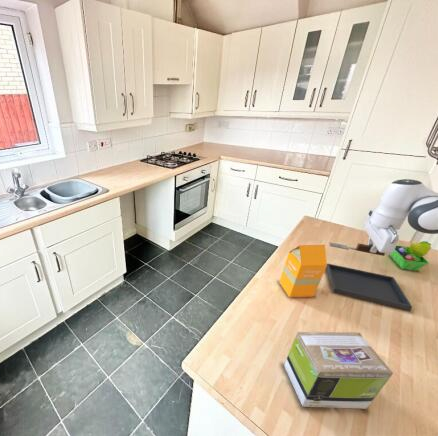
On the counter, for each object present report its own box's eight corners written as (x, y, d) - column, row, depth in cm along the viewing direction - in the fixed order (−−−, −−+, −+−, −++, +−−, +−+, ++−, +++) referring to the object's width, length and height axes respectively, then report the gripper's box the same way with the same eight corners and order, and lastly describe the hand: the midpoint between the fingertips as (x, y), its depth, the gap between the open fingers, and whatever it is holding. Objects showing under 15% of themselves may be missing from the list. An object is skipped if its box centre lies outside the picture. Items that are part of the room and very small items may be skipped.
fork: (381, 252, 99) (385, 247, 98) (384, 256, 97) (387, 251, 96) (328, 242, 106) (331, 237, 105) (330, 246, 104) (332, 240, 102)
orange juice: (313, 296, 87) (333, 251, 77) (289, 297, 87) (305, 252, 77) (301, 281, 94) (318, 238, 84) (278, 281, 94) (292, 238, 84)
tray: (391, 281, 93) (393, 277, 92) (409, 311, 81) (412, 307, 80) (325, 267, 101) (326, 263, 100) (333, 292, 88) (334, 288, 87)
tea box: (338, 366, 65) (361, 331, 58) (366, 410, 56) (397, 374, 49) (282, 365, 66) (297, 329, 59) (301, 408, 57) (321, 372, 50)
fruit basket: (384, 253, 108) (397, 232, 102) (409, 257, 105) (423, 235, 100) (399, 270, 98) (413, 247, 93) (427, 274, 96) (443, 251, 90)
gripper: (410, 235, 83) (390, 267, 90) (386, 210, 99) (372, 238, 106) (386, 232, 85) (369, 262, 92) (367, 208, 102) (354, 235, 108)
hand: (370, 249), depth 99 cm, fingers closed on fork
